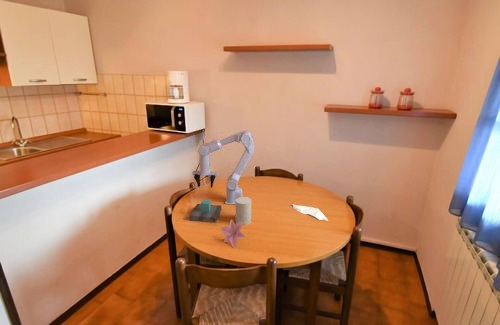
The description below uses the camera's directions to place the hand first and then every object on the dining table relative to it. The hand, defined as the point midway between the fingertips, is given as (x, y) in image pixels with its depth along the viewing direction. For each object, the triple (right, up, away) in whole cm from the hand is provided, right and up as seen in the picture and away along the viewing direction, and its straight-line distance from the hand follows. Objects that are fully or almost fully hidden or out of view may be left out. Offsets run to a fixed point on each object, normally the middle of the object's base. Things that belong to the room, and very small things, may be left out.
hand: (205, 186), depth 165 cm
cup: (+23, -17, -19) cm, 34 cm away
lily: (+19, -22, -37) cm, 47 cm away
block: (+3, -11, -15) cm, 19 cm away
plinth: (+3, -14, -14) cm, 20 cm away
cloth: (+60, -14, -8) cm, 63 cm away
